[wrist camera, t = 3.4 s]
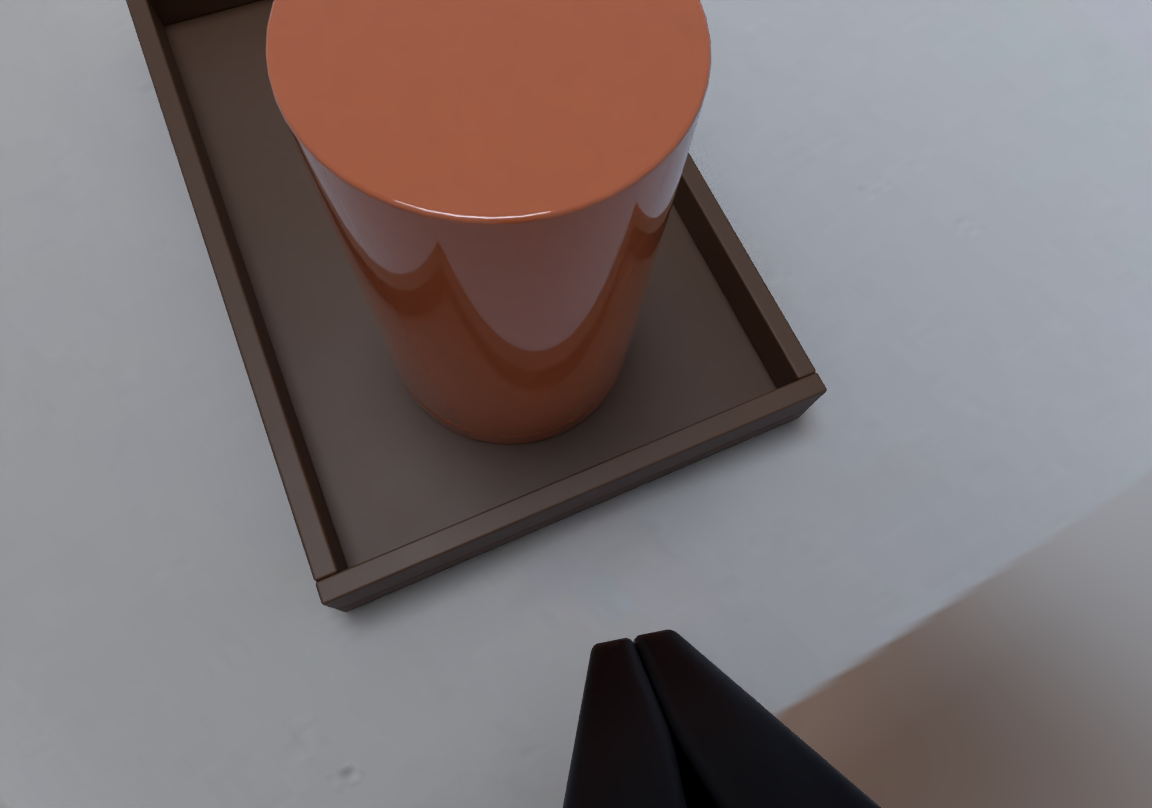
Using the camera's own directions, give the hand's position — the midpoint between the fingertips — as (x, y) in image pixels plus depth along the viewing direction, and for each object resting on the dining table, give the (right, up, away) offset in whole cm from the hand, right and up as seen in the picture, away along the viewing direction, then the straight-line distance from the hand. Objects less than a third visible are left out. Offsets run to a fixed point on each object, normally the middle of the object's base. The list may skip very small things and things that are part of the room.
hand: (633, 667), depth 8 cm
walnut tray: (-5, +9, +17) cm, 19 cm away
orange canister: (-2, +5, +14) cm, 15 cm away
